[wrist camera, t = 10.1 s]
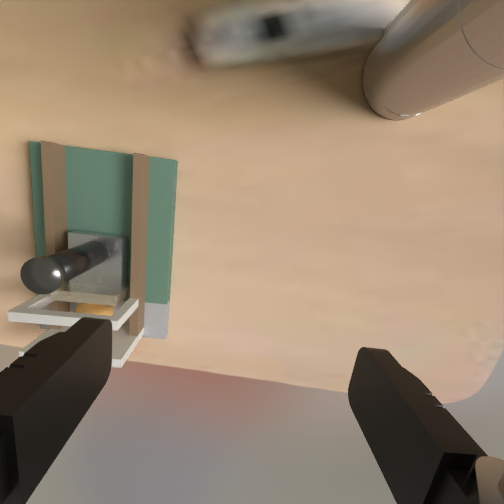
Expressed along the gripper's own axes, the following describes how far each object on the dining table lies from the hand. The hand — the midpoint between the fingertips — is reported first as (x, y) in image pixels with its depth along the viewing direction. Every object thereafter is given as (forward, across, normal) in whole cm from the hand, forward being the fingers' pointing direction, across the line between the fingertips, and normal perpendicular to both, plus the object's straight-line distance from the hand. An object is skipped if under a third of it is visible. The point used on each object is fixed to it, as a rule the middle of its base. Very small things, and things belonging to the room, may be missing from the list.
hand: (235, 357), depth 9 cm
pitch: (+27, +16, +5) cm, 32 cm away
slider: (+25, +16, +7) cm, 30 cm away
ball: (+23, +16, +12) cm, 31 cm away
